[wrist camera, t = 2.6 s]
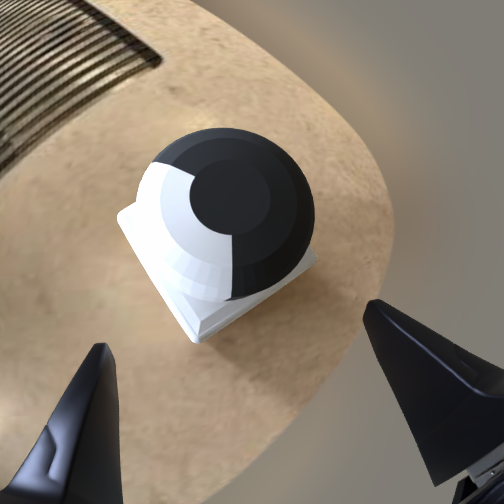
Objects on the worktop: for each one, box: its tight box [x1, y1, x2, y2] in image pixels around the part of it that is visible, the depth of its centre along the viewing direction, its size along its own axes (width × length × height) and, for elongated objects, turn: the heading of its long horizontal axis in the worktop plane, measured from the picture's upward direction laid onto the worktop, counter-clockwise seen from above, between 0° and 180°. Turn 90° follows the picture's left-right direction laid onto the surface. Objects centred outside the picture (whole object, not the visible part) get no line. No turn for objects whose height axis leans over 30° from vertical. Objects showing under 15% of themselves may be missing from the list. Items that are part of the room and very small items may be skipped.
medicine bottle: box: [117, 128, 317, 344], centre depth 15 cm, size 7×7×12 cm
